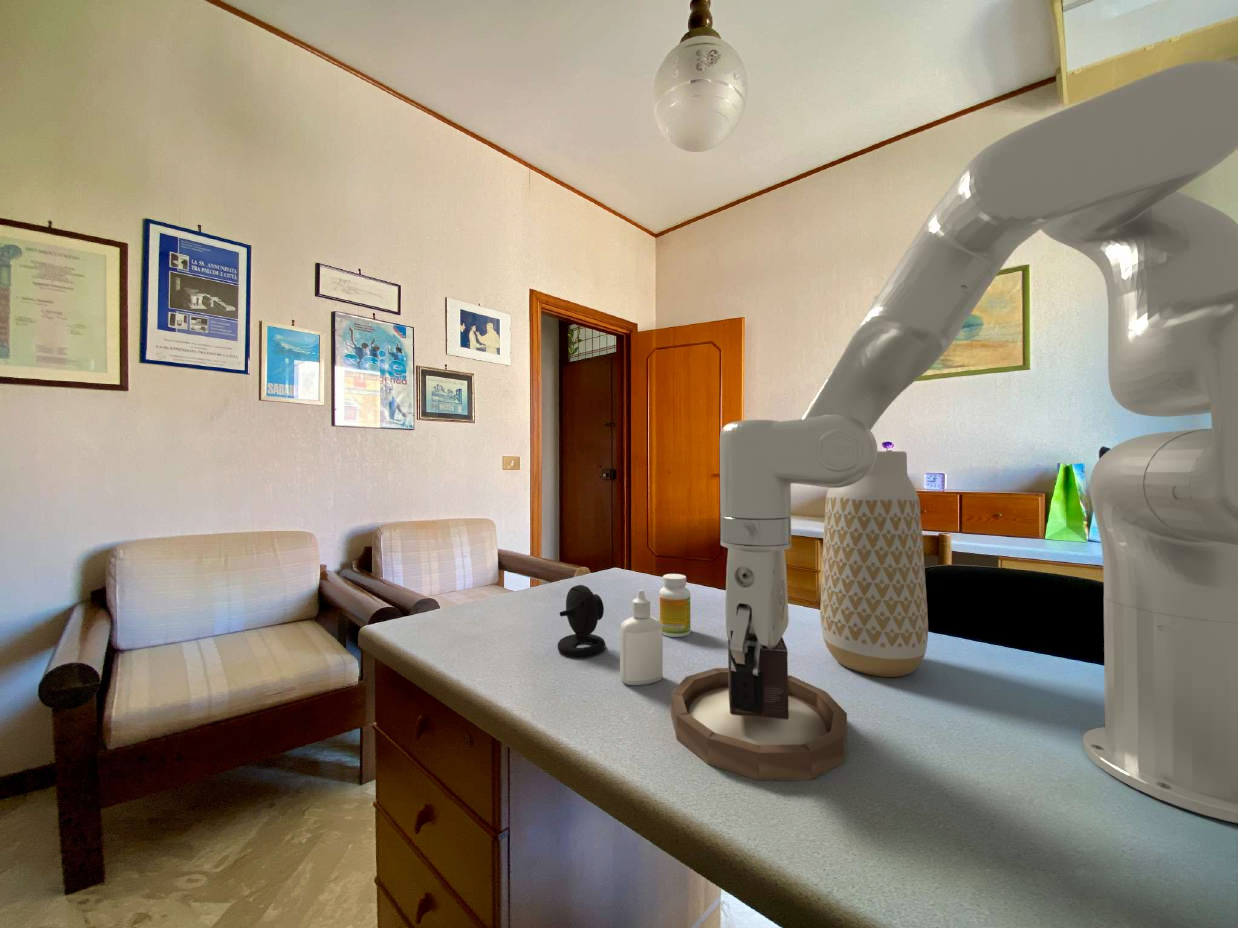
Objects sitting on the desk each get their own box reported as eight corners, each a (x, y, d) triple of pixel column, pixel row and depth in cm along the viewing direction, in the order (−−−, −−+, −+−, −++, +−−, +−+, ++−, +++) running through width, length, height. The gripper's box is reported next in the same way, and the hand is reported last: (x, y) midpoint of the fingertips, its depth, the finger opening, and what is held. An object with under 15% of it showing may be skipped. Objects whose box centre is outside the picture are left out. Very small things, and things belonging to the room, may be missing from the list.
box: (789, 722, 48) (788, 650, 48) (729, 716, 49) (728, 646, 49) (781, 694, 54) (781, 630, 54) (728, 689, 55) (727, 627, 55)
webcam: (615, 651, 72) (614, 587, 73) (572, 663, 68) (572, 594, 68) (589, 636, 79) (589, 577, 79) (549, 646, 75) (549, 583, 75)
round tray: (850, 708, 55) (850, 687, 55) (838, 805, 39) (838, 775, 39) (703, 676, 64) (703, 657, 64) (646, 744, 48) (645, 719, 48)
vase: (908, 695, 58) (906, 449, 59) (803, 661, 69) (802, 452, 69) (941, 664, 67) (939, 451, 68) (844, 638, 78) (842, 454, 78)
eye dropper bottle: (660, 689, 60) (659, 595, 60) (617, 684, 61) (617, 593, 61) (664, 674, 64) (663, 587, 64) (624, 670, 66) (624, 585, 66)
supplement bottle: (692, 638, 78) (692, 579, 78) (660, 637, 78) (660, 579, 78) (688, 627, 84) (688, 572, 84) (658, 626, 84) (658, 572, 84)
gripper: (774, 546, 42) (776, 743, 42) (802, 525, 57) (804, 670, 57) (695, 541, 46) (697, 722, 46) (741, 522, 61) (742, 658, 61)
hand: (756, 692), depth 52 cm, fingers closed on box, 7 cm apart
